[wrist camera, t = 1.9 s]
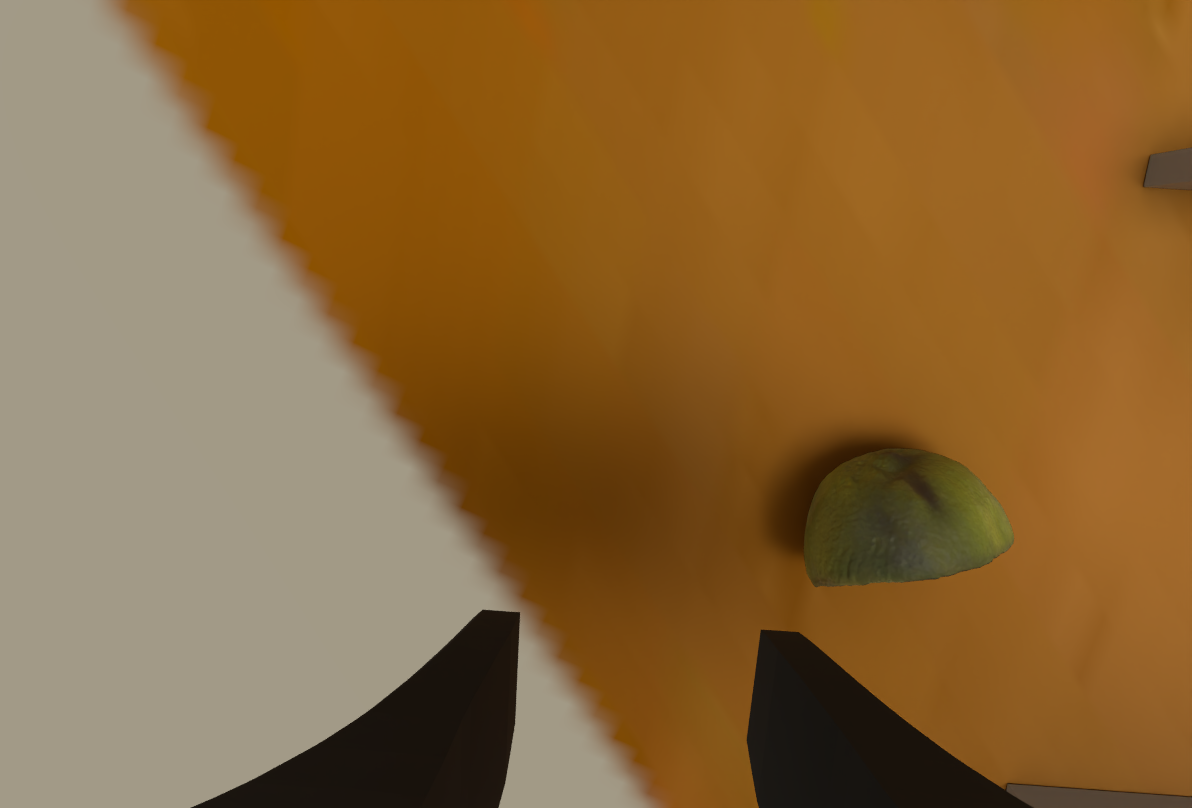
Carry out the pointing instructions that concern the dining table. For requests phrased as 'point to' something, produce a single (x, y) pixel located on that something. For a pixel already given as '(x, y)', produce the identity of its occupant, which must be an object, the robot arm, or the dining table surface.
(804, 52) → the dining table surface
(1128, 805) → the grey angular open frame
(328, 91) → the dining table surface
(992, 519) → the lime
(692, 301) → the dining table surface
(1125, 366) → the dining table surface
